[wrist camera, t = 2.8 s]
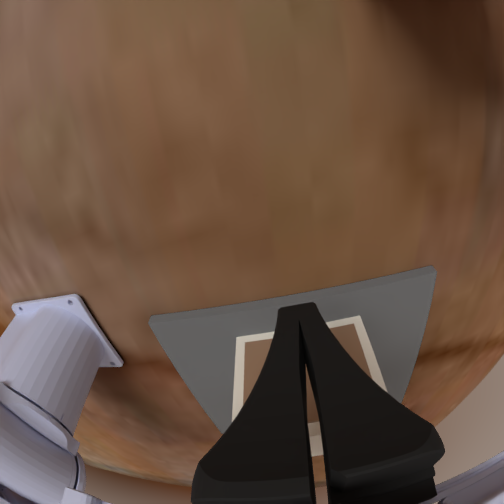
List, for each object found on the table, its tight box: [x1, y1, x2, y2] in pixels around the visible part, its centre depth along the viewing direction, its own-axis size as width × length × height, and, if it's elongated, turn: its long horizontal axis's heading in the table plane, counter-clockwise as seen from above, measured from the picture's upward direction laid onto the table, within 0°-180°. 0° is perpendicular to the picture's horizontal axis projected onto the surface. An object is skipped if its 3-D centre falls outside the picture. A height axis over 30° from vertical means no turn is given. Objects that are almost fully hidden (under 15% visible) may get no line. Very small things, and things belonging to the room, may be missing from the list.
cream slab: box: [232, 315, 387, 456], centre depth 17 cm, size 8×4×8 cm, turn 102°
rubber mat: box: [148, 265, 437, 433], centre depth 23 cm, size 20×18×1 cm
